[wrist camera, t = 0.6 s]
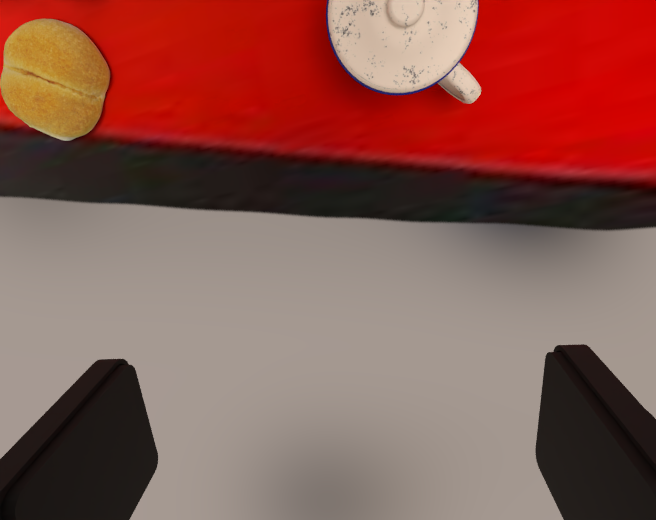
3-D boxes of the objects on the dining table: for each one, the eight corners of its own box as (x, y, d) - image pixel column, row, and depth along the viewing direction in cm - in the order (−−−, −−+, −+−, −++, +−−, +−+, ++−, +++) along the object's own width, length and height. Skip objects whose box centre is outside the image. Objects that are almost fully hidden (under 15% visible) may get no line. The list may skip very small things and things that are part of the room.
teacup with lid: (309, 42, 35) (288, 17, 24) (387, -64, 33) (402, -145, 22) (420, 143, 37) (446, 161, 27) (502, 51, 35) (568, 29, 24)
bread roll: (123, 46, 37) (96, 40, 33) (98, 148, 40) (71, 154, 36) (25, 2, 36) (-14, -10, 32) (7, 109, 39) (-30, 111, 35)
